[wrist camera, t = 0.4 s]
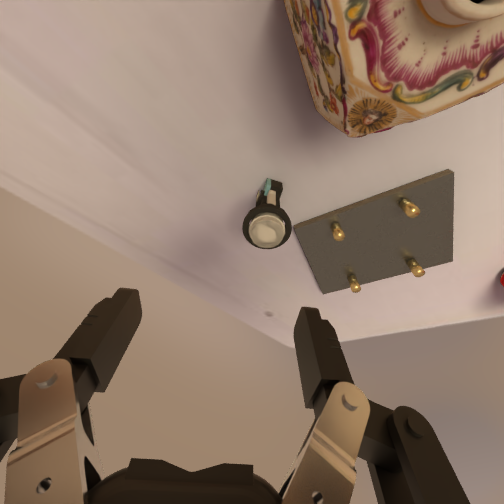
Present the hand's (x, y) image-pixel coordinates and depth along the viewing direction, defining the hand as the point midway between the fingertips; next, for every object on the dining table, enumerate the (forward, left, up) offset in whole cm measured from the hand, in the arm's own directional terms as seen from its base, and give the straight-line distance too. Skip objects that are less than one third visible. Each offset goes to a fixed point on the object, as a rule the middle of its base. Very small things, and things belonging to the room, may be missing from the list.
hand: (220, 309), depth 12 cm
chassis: (-12, +18, -23) cm, 32 cm away
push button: (0, +5, -24) cm, 24 cm away
